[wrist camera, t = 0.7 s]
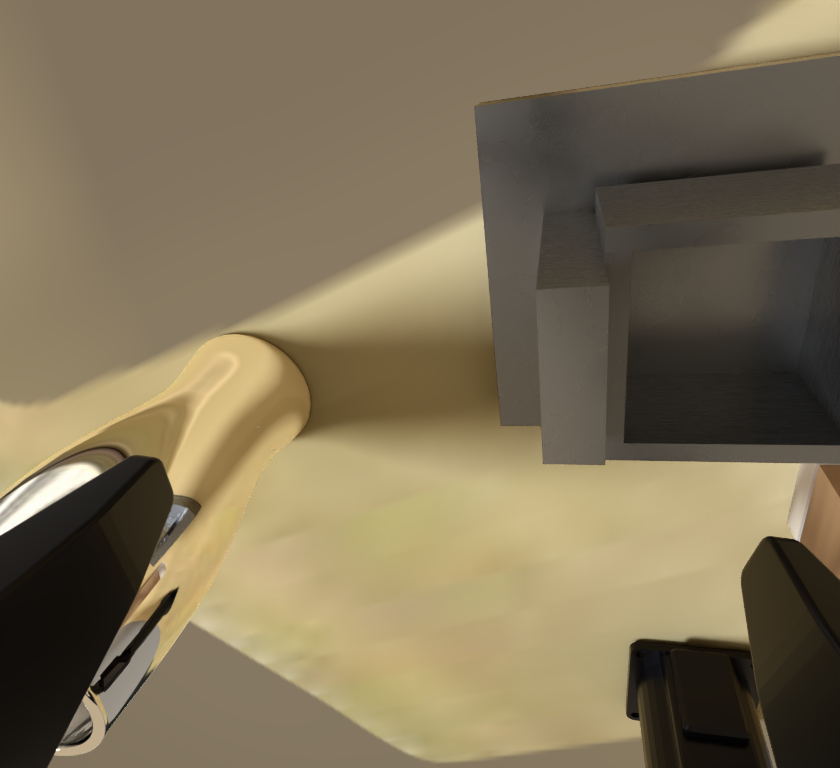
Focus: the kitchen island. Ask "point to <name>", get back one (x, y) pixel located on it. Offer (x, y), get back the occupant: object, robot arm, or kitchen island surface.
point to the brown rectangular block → (818, 512)
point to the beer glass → (175, 498)
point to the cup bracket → (669, 264)
